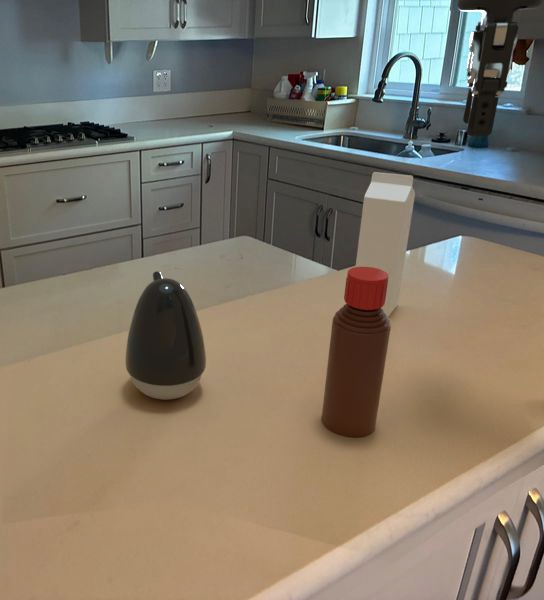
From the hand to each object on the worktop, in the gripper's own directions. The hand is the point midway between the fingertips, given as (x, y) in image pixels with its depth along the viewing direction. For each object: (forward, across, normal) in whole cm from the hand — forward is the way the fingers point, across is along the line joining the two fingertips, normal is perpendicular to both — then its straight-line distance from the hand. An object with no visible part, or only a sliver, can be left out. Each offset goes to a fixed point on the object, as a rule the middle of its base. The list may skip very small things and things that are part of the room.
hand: (475, 129), depth 65 cm
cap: (+17, +11, -8) cm, 22 cm away
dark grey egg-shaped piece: (+32, +12, -31) cm, 46 cm away
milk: (+32, -23, -8) cm, 40 cm away
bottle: (+32, +11, -8) cm, 35 cm away
